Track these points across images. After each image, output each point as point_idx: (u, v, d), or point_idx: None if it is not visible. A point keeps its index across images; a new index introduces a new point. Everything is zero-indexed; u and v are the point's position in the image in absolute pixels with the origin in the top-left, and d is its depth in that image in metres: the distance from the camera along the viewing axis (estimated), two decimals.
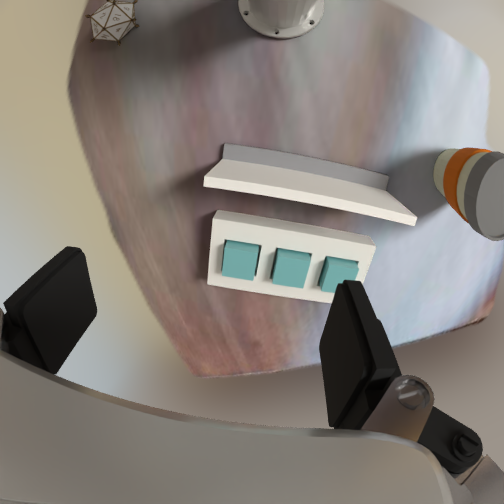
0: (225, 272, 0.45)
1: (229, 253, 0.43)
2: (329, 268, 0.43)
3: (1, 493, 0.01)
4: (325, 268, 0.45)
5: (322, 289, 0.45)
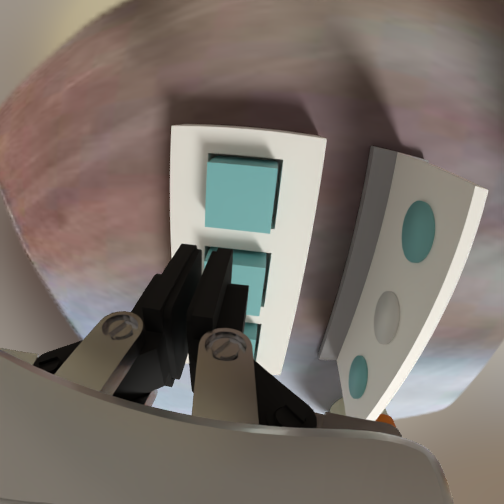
0: (216, 170, 0.20)
1: (264, 178, 0.20)
2: None
3: (1, 493, 0.01)
4: None
5: None
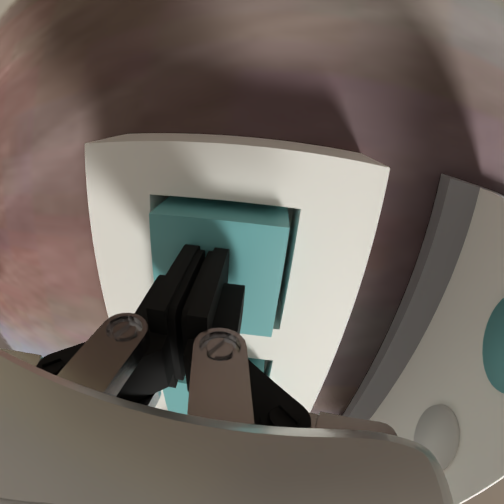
0: (167, 229, 0.10)
1: (262, 246, 0.10)
2: None
3: (1, 493, 0.01)
4: None
5: None
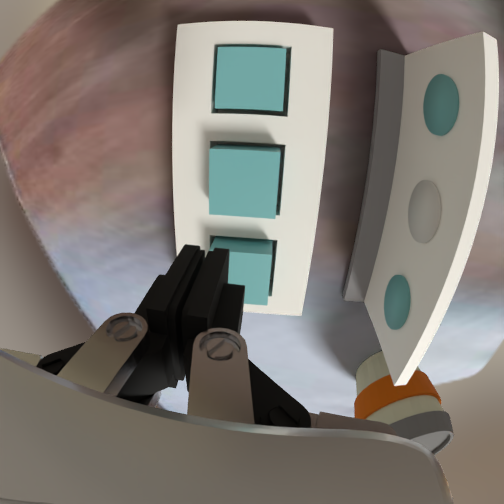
0: (227, 53, 0.17)
1: (274, 57, 0.17)
2: (264, 256, 0.23)
3: (1, 493, 0.01)
4: (253, 245, 0.24)
5: None
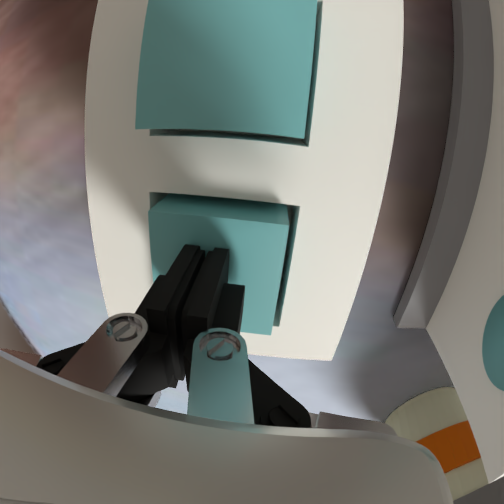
0: None
1: None
2: (270, 227, 0.10)
3: (1, 493, 0.01)
4: (246, 206, 0.11)
5: (157, 215, 0.10)
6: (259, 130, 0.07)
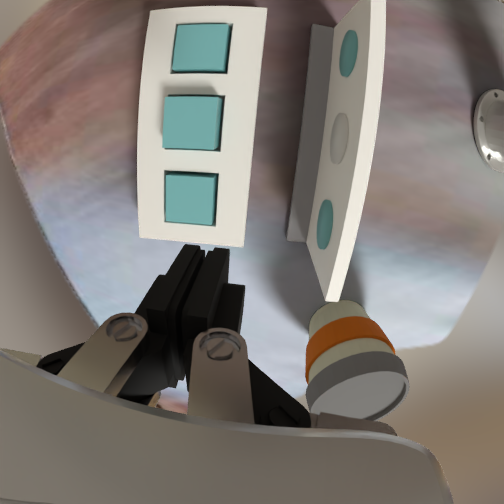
0: (184, 29, 0.21)
1: (218, 31, 0.21)
2: (207, 178, 0.28)
3: (1, 493, 0.01)
4: (201, 174, 0.29)
5: (169, 176, 0.28)
6: (200, 148, 0.25)
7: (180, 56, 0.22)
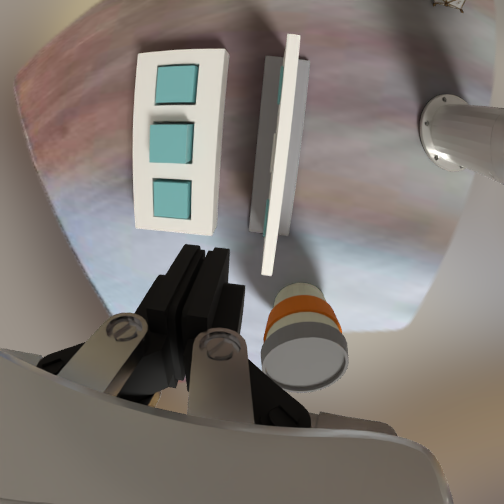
0: (163, 70, 0.30)
1: (188, 71, 0.30)
2: (183, 184, 0.37)
3: (1, 493, 0.01)
4: (179, 180, 0.39)
5: (155, 182, 0.37)
6: (176, 162, 0.35)
7: (161, 92, 0.32)
